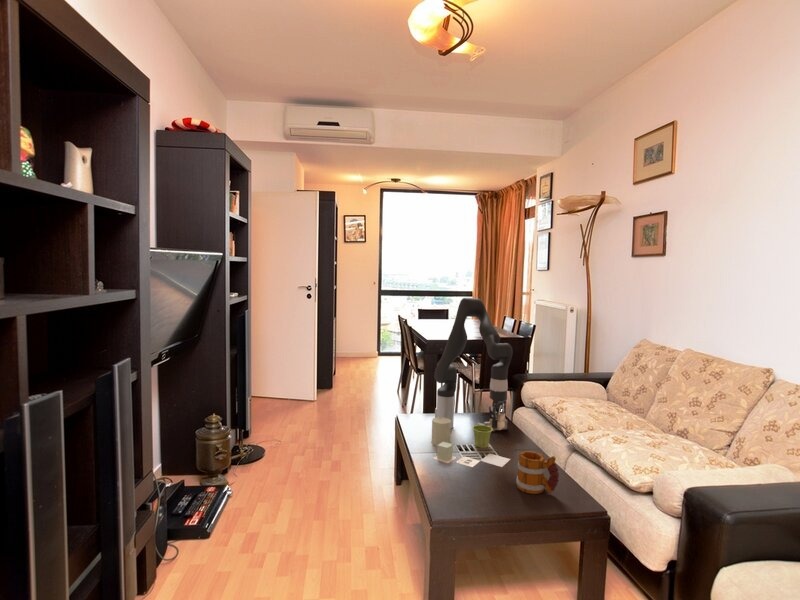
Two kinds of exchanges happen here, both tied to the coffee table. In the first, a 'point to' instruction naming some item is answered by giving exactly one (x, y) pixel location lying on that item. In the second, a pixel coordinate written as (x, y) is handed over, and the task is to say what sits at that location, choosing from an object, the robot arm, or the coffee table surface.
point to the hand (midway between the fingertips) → (497, 426)
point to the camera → (493, 428)
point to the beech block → (499, 421)
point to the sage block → (444, 451)
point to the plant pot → (482, 435)
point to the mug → (536, 473)
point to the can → (440, 430)
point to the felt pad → (495, 460)
